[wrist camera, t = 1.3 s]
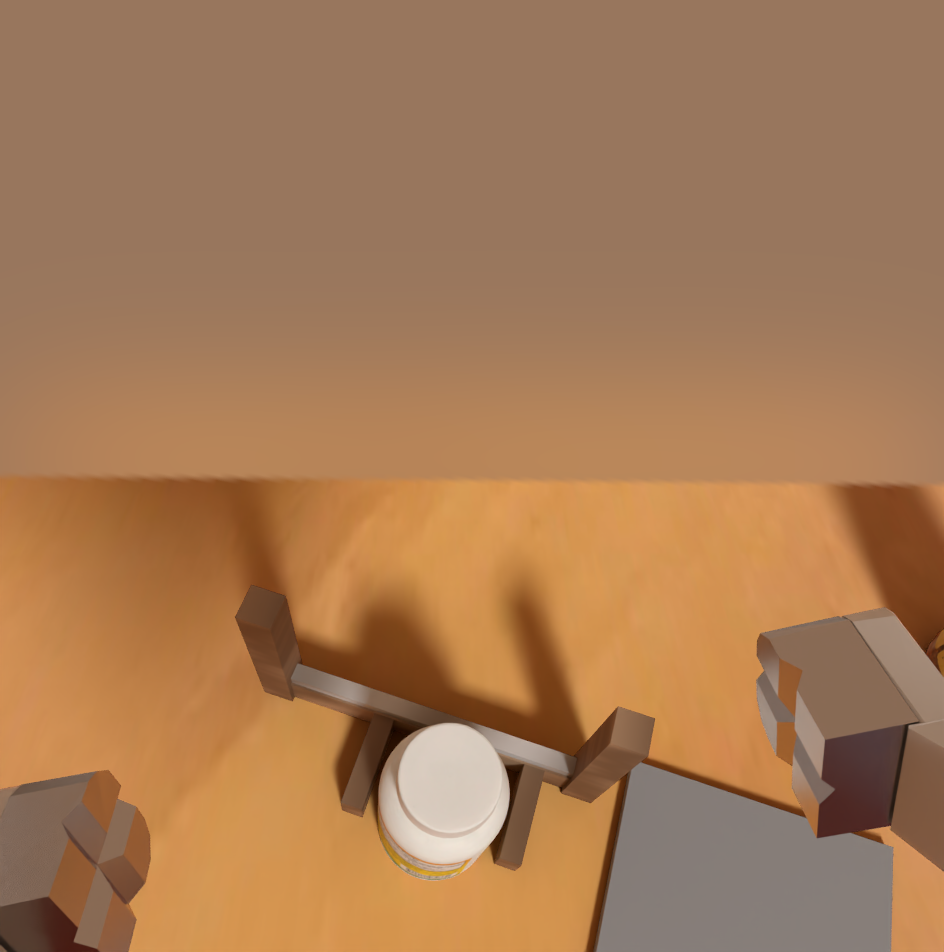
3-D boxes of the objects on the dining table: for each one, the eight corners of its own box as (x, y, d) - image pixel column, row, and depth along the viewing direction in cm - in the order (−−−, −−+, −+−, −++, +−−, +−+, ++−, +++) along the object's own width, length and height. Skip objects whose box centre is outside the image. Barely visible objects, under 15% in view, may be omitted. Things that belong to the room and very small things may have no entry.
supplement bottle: (415, 907, 37) (426, 887, 29) (356, 800, 39) (350, 754, 31) (512, 835, 39) (548, 798, 31) (451, 738, 41) (469, 679, 33)
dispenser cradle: (228, 770, 39) (187, 713, 30) (277, 664, 42) (251, 584, 33) (571, 890, 38) (628, 865, 29) (597, 772, 41) (655, 718, 32)
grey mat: (570, 1068, 34) (573, 1069, 34) (630, 762, 41) (633, 759, 40) (878, 1181, 33) (885, 1185, 33) (886, 848, 40) (893, 847, 39)
